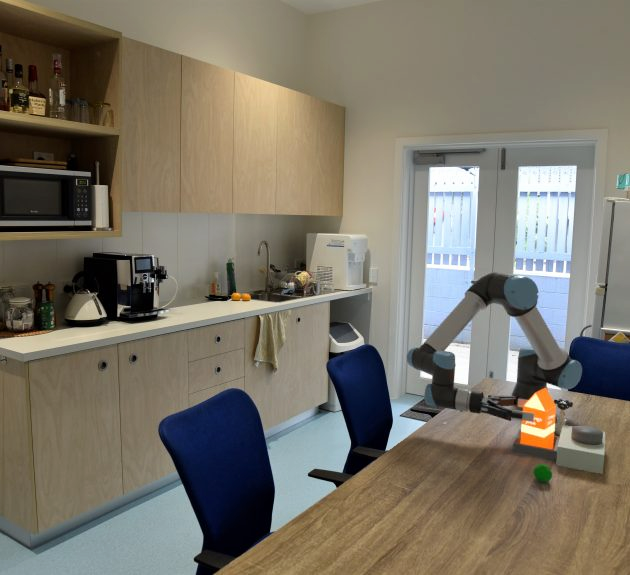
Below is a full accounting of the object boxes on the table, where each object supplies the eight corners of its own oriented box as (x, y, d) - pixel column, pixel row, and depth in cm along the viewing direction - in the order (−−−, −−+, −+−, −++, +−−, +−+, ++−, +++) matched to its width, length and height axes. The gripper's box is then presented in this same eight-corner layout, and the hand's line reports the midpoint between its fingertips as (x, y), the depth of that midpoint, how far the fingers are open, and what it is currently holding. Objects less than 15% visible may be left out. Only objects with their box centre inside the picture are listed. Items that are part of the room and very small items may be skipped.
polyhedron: (537, 475, 176) (539, 460, 176) (554, 481, 173) (555, 465, 172) (530, 480, 173) (531, 464, 172) (546, 486, 169) (547, 470, 169)
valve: (567, 432, 213) (569, 399, 212) (573, 439, 207) (576, 405, 205) (548, 431, 214) (550, 398, 212) (553, 437, 207) (556, 404, 206)
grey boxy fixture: (520, 434, 210) (521, 409, 209) (603, 449, 198) (605, 423, 197) (510, 456, 190) (512, 429, 189) (602, 474, 179) (605, 445, 177)
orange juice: (553, 448, 198) (558, 389, 195) (542, 455, 191) (547, 395, 189) (530, 441, 203) (534, 384, 200) (519, 448, 196) (523, 389, 194)
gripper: (476, 401, 216) (538, 411, 207) (461, 422, 194) (530, 434, 185) (477, 381, 215) (540, 390, 206) (463, 400, 193) (532, 411, 184)
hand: (536, 411), depth 196 cm, fingers open, 13 cm apart
